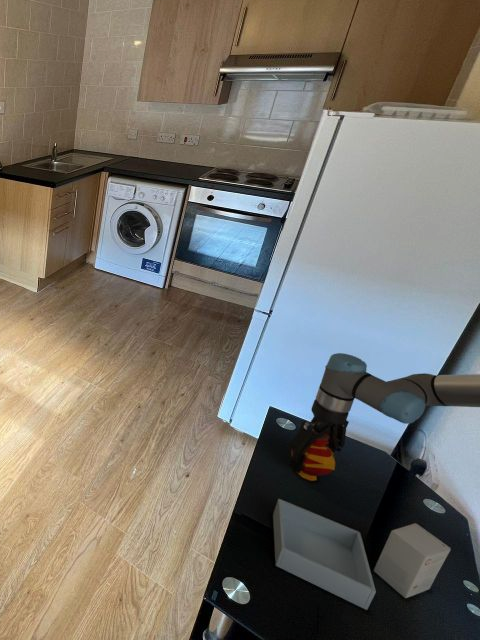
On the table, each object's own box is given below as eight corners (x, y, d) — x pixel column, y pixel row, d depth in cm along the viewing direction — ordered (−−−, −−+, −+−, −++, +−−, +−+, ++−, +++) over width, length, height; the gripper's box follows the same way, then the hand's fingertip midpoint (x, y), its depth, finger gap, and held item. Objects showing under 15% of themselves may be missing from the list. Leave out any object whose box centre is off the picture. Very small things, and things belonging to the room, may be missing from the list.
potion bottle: (295, 484, 118) (310, 443, 114) (278, 457, 128) (291, 418, 123) (337, 491, 116) (354, 450, 111) (317, 464, 126) (331, 425, 121)
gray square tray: (352, 549, 100) (360, 532, 98) (367, 610, 87) (376, 592, 86) (272, 514, 109) (278, 498, 107) (275, 565, 96) (281, 548, 94)
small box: (396, 562, 97) (415, 522, 93) (430, 590, 92) (452, 548, 88) (371, 570, 96) (390, 529, 91) (405, 599, 90) (427, 557, 86)
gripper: (349, 393, 120) (326, 452, 127) (286, 400, 116) (266, 461, 123) (377, 409, 113) (352, 471, 120) (312, 418, 109) (289, 482, 116)
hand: (309, 466), depth 121 cm, fingers closed on potion bottle, 10 cm apart
